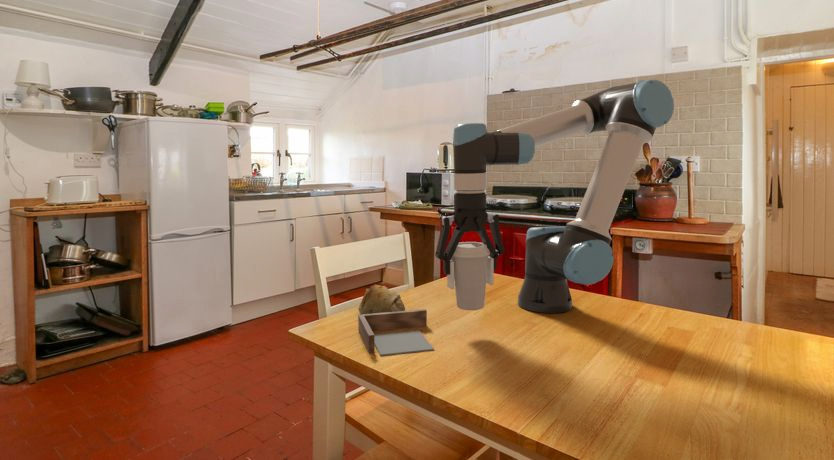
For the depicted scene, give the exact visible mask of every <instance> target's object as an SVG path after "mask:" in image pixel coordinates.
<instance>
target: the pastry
mask: <svg viewBox="0 0 834 460" xmlns="http://www.w3.org/2000/svg"><path fill="white" fill-rule="evenodd" d="M401 298H402V297H401V294H400V293H397V292H396V291H394V290H391V289H389V288H388V287H387V286H385V285H378V284H373V285H370V287H369V288H367V287H366V288H365V292H364V295H363V297H362V299H361V302H360V303H359V305H358V308H357V309H358V311H359V313H360V315H361V314H373V313H385V312H397V311H406V308H405V305H404V304H405V303H404V301H403V300H402V299H401Z"/></svg>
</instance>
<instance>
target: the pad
mask: <svg viewBox="0 0 834 460" xmlns="http://www.w3.org/2000/svg"><path fill="white" fill-rule="evenodd" d="M374 346H375V349H376V350H377V352H378V355H379V356H380V357H382V356H392V355H399V354H410V353H420V352H429V351H430V352H431V351H435V348H434V347H433V345H432V344H431V343H430V341H428V339H427V338H426V337H425V336H424V334H423V333H422V332H421V331H420V330H419V329H417V330H409V331H408V330H407V331H399V332H398V331H397V332H389V333H378V334H377V333H376V334H374Z"/></svg>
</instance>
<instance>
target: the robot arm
mask: <svg viewBox="0 0 834 460" xmlns="http://www.w3.org/2000/svg"><path fill="white" fill-rule="evenodd" d="M674 108H675V101H674V97H673V95H672V91H671V89H670V88H669V86H667V84H666V83H664V82H662V81H661V80H657V79H647V80H646V79H645V80H644V79H642V80H639V81H637V82H632V83H627V84H622V85H616V86H612V87H609V88H606V89H603V90H601V91H598V92H596V93H595V94H594V93H593V94H591V95H589V96H587V97H584V98H582V99H578V100H576V101H574V102H573V103H572V104H571V106H569V107H566V108H563V109H560V110H557V111H553V112H550V113H547V114H544V115H540V116H539V117H535V118H532V119H528V120H525V121H522V122H519V123H516V124H513V125H510V126H507V127H503V128H499V129H498V130H494V131H492V132H488V130H487V125H486V124H485V123H482V122H480V123H479V122H475V123H474V122H471V123H470V122H469V123H459V124H456V125H455V126H454V128H453V135H452V136H453V137H452V139H453V140H452V147H453V148H452V151H453V190H454V191H455V192H454V194H453V210H454V211H453V213H452V215H448V216H445V215H443V216H441V218H440V223H441V227H440V232H439V236H438V241H437V244H436V245H437V246H436V251H435V254H434V255H435V257H436V258H437V259H438V260H441V261H442V265H443V266H442V267H443V270H442V271H443V273H444V274H445V275H446V280H447V281H446V283H447V284H446V285H447V286H446V287H448V288H449V289H450V290H455V282H454V261H452V256H453V254H454V252H455V250H456V248H457V246H458V244H459V243H460V241H461V240H462V237H463V236H464V235H465V234H466V233H470V232H476V233H478V236H479V237H480V239H481V243H485V244H486V245H487V248H488V249H489V251H490V255H488V264H487V276H486V284H488V285H490V286H494V273H495V272H494V271H497V269H498V258H500V255H504V254H505V253H506V251H505V247H504V243H503V242H504V241H503V239H502V238H503V237H502V235H501V229H500V225H499V223H500V222H499V221H500V216H499V214H496V213H493V212H492V213H488V212H487V193H486V192H484V191H486V190H487V166H508V165H509V166H513V165H514V166H515V165H516V166H520V165H526V164H529V163H530V162H531V161H533V158H534V156H535V153H536V148H539V147H541V146H545V145H547V144H550V143H553V142H556V141H558V140H563V139H565V138H568V137H571V136H574V135H578V134H579V135H583V136H586V135H588V134H592V133H595V132H604V131H605V132H606V131H607V133H608V135H607V139H606V141H605V143H604V146H603V149H602V151H601V153H600V156H599V159H598V161H597V164H596V167H595V168H594V171H593V174H592V176H591V179H590V181H589V184H588V186H587V189H586V191H585V192H584V193H585V194H584V196H583V198H582V202H581V203H580V206H579V209H578V212H577V213H576V216H575V219H573V220H572V221H571V220H570V221H569V222H566V225H565V226H564V225H562V226H561V225H559V226H534V227H530V228H528V230H527V231H526V237H525V265H524V266H525V268H524V270H525V271H524V274H525V275H524V280H523V282H522V285H521V287H520V290H519V293H518V295H517V296H518V297H517V305H518V306H519V307H520V308H522V309H525V310H528V311H530V312H531V311H532V312H534V313H535V312H536V313H542V314H544V313H545V314H559V313H566V312H569V311H571V310H572V309H573V298H572V295H571V292H570V287H569V285H568V281H570V282H573V283H574V284H580V285H587V286H588V285H593V284H596V283H598V282H600V281H602V280H603V279H605V278H606V277H607V276H608V275H609V273H610V271H611V270H612V267H613V266H614V265H613V264H614V259H615V256H614V255H613V254H614V252H613V249H612V247H611V246H610V245H611V243H612V240H613V239H612V237H611V235H610V232H609V231H610V228H611V225H612V222H613V220H614V218H615V215H616V213H617V210H618V207H619V205H620V202H621V200H622V198H623V195H624V192H625V190H626V187H627V185H628V183H629V179H630V178H631V176H632V172H633V170H634V167H635V165H636V163H637V159H638V157H639V155H640V153H641V150H642V148H643V145H644V144H646V143H648V142H651V141H652V140H653V136H655V132H656V130H657V128H660V127H663V126H664V125H666V124H668V123H669V121H670V120H671V119H672V117H673V114H674ZM486 221H487V222H488V223H489V228H490V231H491V237H492V240H493V241H492V240H491V238H490V236H489V235H488V231H487V229H486V227H485V222H486ZM453 222H454V223H455V224H456V226H455V228H454V230H453V234H452V236H451V238H450V240H449V242H448V239H449V235H450V229H451V226H452V225H453ZM447 242H448V244H447Z"/></svg>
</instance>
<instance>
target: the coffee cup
mask: <svg viewBox="0 0 834 460" xmlns="http://www.w3.org/2000/svg"><path fill="white" fill-rule="evenodd" d="M488 256H490V251H489V249H488V248H487V245H486V244H485V243H483V242H477V241H465V242H464V241H462V242H459V244H458V246H457V248H456V250H455V252H454V254H453V256H452V258H451V260H452V261H454V291H455V299H456V307H457V308H458V309H460V310H463V311H479V310H483V309H484V308H485V300H486V299H485V298H486V287H487V283H486V276H487V264H488Z"/></svg>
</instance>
